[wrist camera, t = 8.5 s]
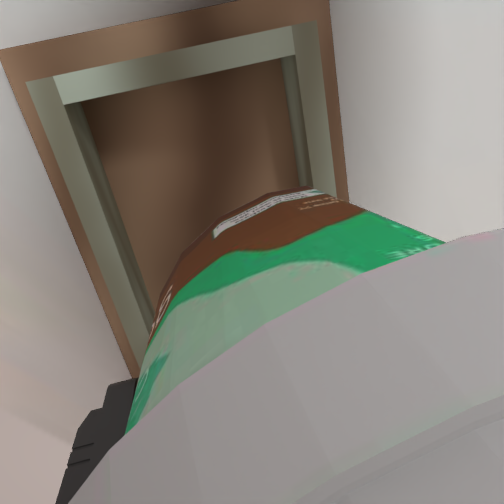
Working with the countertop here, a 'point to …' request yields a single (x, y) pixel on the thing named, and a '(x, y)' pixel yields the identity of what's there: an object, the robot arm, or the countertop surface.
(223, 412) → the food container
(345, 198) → the holder
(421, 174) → the countertop surface
